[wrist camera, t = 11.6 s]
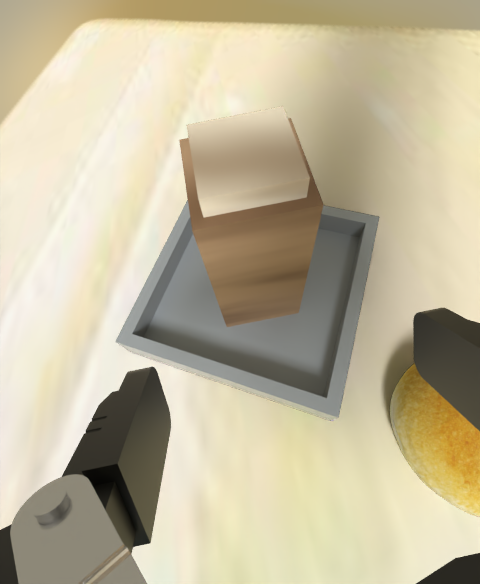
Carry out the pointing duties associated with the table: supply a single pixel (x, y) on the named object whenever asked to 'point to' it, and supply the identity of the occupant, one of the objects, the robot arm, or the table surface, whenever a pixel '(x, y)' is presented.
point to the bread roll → (437, 441)
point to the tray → (266, 333)
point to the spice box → (252, 212)
